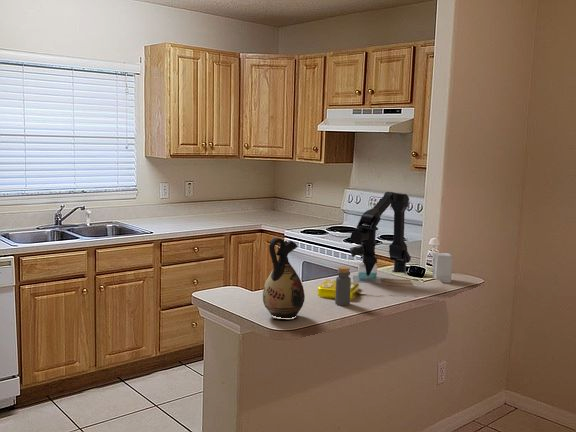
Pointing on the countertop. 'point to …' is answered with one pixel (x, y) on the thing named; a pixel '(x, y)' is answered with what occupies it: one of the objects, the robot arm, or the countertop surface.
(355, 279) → the slate stand
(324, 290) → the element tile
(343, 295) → the bottle
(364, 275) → the block
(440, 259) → the supplement box
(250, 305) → the countertop surface
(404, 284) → the walnut stand
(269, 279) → the ceramic jug
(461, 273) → the countertop surface
